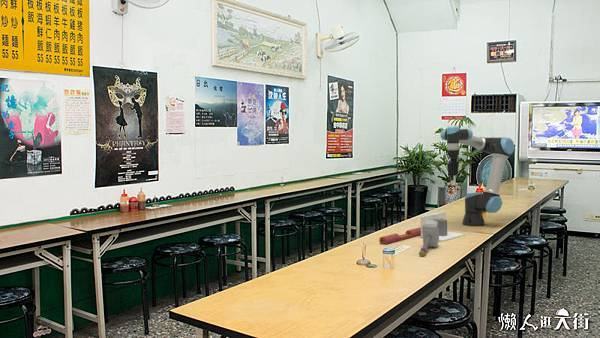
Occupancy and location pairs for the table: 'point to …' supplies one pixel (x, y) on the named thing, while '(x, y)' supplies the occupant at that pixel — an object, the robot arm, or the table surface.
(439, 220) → the block
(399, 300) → the table surface
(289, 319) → the table surface
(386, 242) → the blood vessel
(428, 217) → the rail panel
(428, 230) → the grey angled piece
